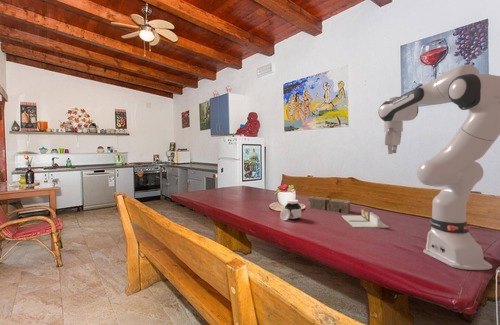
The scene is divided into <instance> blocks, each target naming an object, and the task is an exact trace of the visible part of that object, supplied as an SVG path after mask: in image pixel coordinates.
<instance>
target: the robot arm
mask: <svg viewBox="0 0 500 325" xmlns="http://www.w3.org/2000/svg"><path fill="white" fill-rule="evenodd" d="M450 101H451V103H453V104H454V105H456V106H457V107H458V108H459V109H460V110H461V111H468V115H467V118H465V120H464V122H463V123H462V124H461V126H460V128H459V129H458V130H457V132H456V133H455V135H454V136H453V138H452V139H451V140H450V141H449V143H448V144H447V145H446V146H445V147H444V148H442V149H441V150H440V151H439V152H438V153H437V154H436V155H435V156H433V157H431V158H430V159H427V160H426V161H424V162H422V163H420V164H419V166H418V168H417V170H416V175H417V178H418V180H419V182H420V183H421V184H423V185H425V186H428V187H429V186H430V187H437V188H441V190H440V191H439V193H438V194H437V195H435V197H433V199H432V200H431V201H432V203H431V204H432V205H431V206H432V208H431V209H432V210H431V212H432V213H431V214H432V215H431V217H430V220H429V222H430V227H431V228H430V230H429V231H428V232H427V238H426V246H425V248H424V249H423V254H426V255H428V256H429V257H432V258H434V259H436V260H438V261H440V262H442V263H444V264H446V265H447V266H449V267H452V268H454V269H455V268H456V269H460V270H469V271H486V270H491V269H493V265H492V264H491V263H490V262H488V261H486V260H485V259H484V251H483V249H482V245H481V244H478V243H477V241H476V240H475V239H474V238H473V236H472V234H470V229H471V226H469V225H468V223H467V220H466V219H467V215H466V214H467V205H468V204H467V203H468V200H469V197H470V195H471V192H472V190H473V188H474V187H475V186H476V184H478V183H479V182H480V181H481V180H482V179H483V177H484V168H483V166H482V165H481V164H480V163H479V162H478V161H479V160H480V159H482V157H483V156H485V154H486V153H487V152H488V151H489V149H490V148H491V147H492V146H493V144H494V143H495V142H496V141H497V139H498V138H499V136H500V75H495V74H490V73H480V71H479V69H478V68H477V67H476V66H474V65H472V64H462V65H459V66H456V67H454V68H453V69H450V70H448V71H446V72H444V73H442V74H441V75H439V76H438V77H435V78H434V79H433V80H431V81H428V82H427V83H425V84H423V85H421V86H419V87H416V88H414V89H412V90H409V91H408V92H406V93H404V94H402V95H400V96H394V97H389V98H388V99H386V100H385V101H384V102H382V103H381V105H380V106H379V108H378V115H379V118H380V119H381V120H382V121H384V122H383V132H385V135H384V145H385V146H387V151H388V155H392V154H396V153H397V152H398V151H397V149H398V146H400V144H401V140H402V132H403V130H404V127H403V124H404V123H403V122H404V121H405V122H408V121H413V120H414V119H415V118H417V117H418V114H419V106H421V105H422V106H423V105H442V104H444V103H447V102H450Z"/></svg>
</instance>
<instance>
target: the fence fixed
mask: <svg viewBox="0 0 500 325" xmlns="http://www.w3.org/2000/svg"><path fill="white" fill-rule="evenodd" d="M370 212H372V210H369V209H367V208H365V207H363V206H362V207H361V215H360V216H363V217H365V218H366V219H367V220H368V221H370Z"/></svg>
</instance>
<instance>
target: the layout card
mask: <svg viewBox="0 0 500 325" xmlns="http://www.w3.org/2000/svg"><path fill="white" fill-rule="evenodd" d="M341 217H342V218H343V220H344V221H346V222H347V223H348V224H349V225H350V226H351V227H353V228H362V229H363V228H366V229H367V228H368V229H369V228H372V229H373V228H375V229H376V228H381V229H382V228H383V229H384V228H390V227H389V225H387V224H385V223H383V222H382V221H381V220H380V227H377V226H376V225H374V224H373V223H372V222H370V221H368V220H367V219H366V218H365V217H363V216H362V215H341Z"/></svg>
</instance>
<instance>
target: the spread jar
mask: <svg viewBox="0 0 500 325" xmlns="http://www.w3.org/2000/svg"><path fill="white" fill-rule="evenodd" d="M279 216H280V220H282V221H288V220H289V221H297V220H299V219H300V218H301V217H302V206H301V205H300V203H299V200H298V199H287V203H286V204H285V207H284V208H283V209H282V210H281V211H280V215H279Z"/></svg>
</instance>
